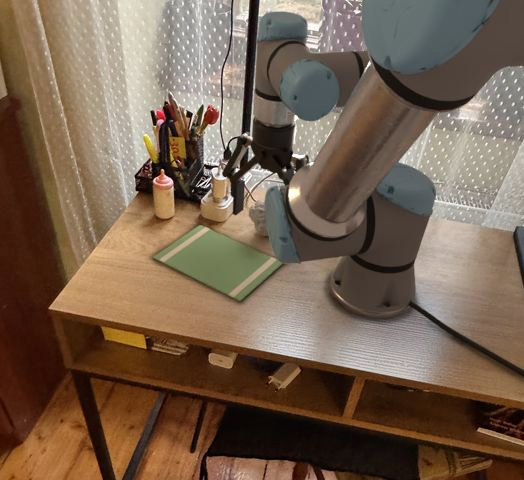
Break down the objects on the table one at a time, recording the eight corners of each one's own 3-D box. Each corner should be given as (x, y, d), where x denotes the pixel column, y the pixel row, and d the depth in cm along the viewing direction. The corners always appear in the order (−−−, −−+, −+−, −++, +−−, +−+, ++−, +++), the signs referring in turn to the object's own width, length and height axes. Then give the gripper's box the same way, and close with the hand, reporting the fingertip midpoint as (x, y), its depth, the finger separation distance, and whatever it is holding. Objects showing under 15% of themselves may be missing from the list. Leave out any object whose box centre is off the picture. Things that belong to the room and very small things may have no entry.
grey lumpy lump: (245, 225, 111) (247, 194, 106) (279, 225, 111) (282, 194, 106) (248, 242, 106) (250, 211, 101) (283, 242, 107) (286, 211, 102)
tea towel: (283, 263, 102) (283, 262, 102) (240, 302, 94) (240, 300, 94) (200, 226, 109) (200, 224, 109) (153, 258, 101) (152, 256, 101)
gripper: (349, 133, 90) (329, 239, 106) (229, 90, 99) (226, 194, 114) (327, 149, 86) (309, 257, 101) (203, 103, 94) (204, 209, 110)
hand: (265, 224), depth 108 cm, fingers open, 13 cm apart
